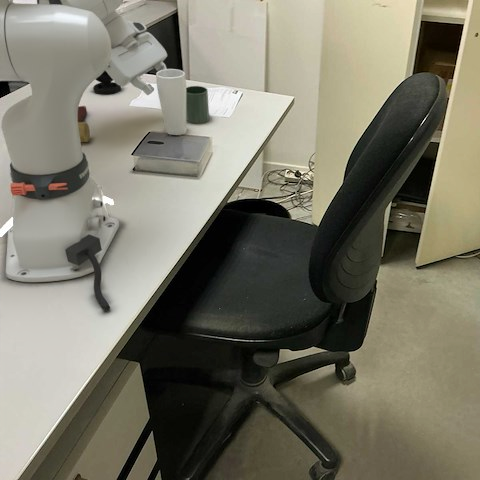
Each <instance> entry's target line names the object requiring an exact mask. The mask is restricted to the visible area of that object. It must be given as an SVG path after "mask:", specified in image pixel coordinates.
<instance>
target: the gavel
mask: <svg viewBox="0 0 480 480" xmlns="http://www.w3.org/2000/svg"><path fill="white" fill-rule="evenodd" d="M87 113H88V109H87V106H86V105H79V107H78V128H79V136H80V142H81V143H88V142H89V140H90V133H91V132H90V126H89V124H88V123H87V121H82V120H83V119H84V117H85V116H86V115H87Z"/></svg>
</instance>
